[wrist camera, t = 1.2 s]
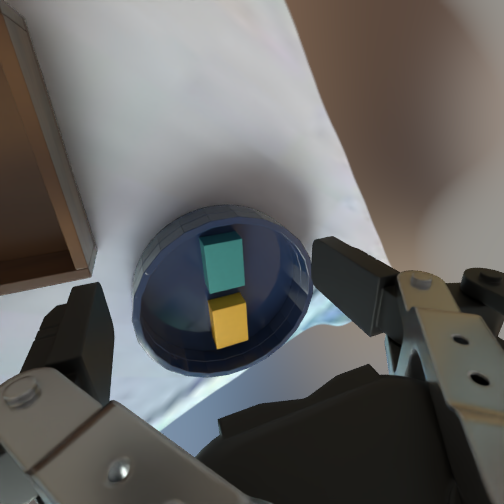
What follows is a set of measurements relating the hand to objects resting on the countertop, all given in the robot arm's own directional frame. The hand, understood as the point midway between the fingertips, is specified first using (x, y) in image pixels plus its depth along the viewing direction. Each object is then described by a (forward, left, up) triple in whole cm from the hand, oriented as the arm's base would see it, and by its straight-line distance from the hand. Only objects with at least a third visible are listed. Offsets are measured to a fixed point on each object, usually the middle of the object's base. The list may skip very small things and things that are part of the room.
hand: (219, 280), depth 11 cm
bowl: (+11, +3, -16) cm, 20 cm away
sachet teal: (+7, +3, -15) cm, 17 cm away
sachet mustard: (+14, +3, -15) cm, 21 cm away
